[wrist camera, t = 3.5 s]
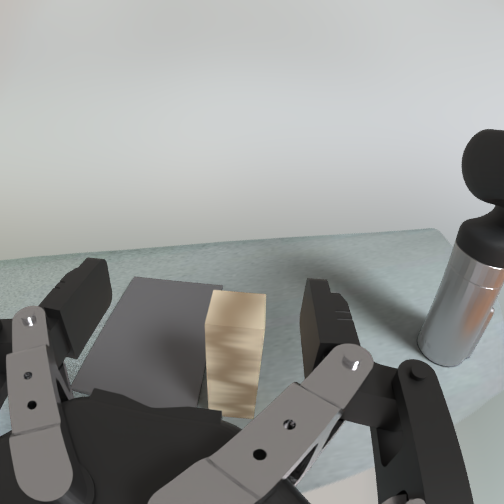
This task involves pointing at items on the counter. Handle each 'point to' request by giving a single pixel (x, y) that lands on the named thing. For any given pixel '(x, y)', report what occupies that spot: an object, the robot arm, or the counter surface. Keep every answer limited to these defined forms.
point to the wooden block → (234, 351)
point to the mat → (152, 345)
